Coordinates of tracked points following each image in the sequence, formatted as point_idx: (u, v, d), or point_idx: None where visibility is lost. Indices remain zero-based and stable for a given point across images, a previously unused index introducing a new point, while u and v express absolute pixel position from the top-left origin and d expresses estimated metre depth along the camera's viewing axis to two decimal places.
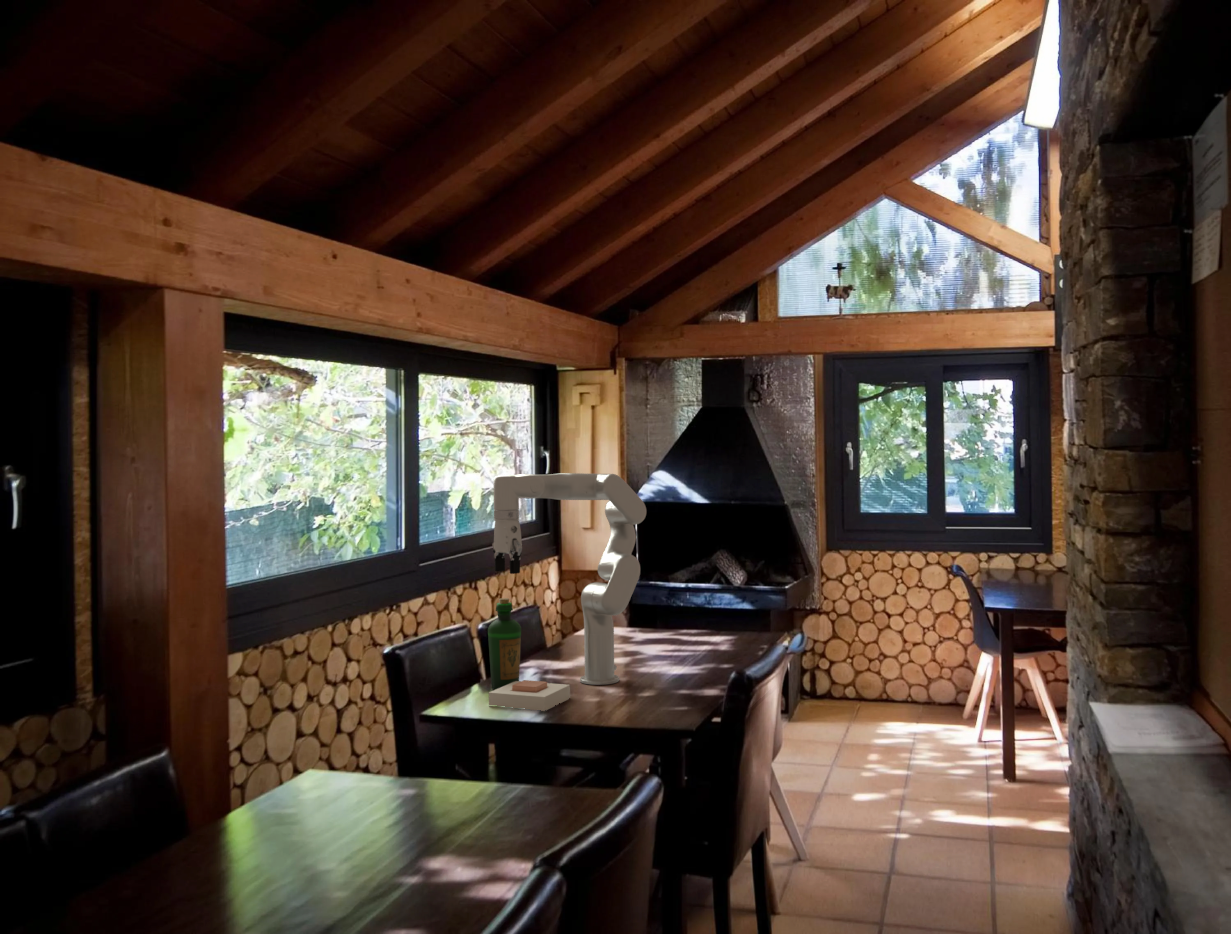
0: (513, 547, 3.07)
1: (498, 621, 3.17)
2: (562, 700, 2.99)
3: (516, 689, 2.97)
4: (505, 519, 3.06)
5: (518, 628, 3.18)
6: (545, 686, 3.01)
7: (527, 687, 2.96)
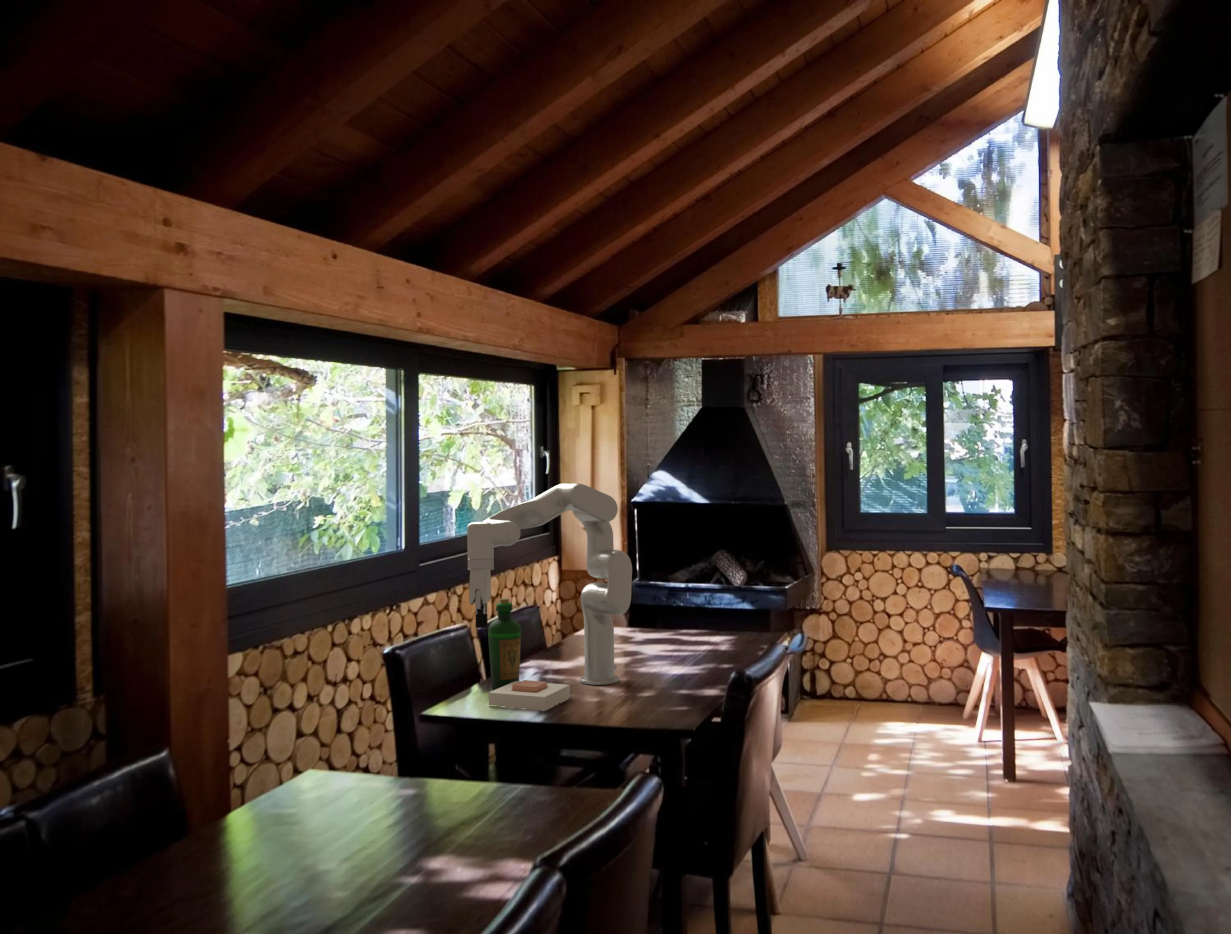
0: None
1: (498, 621, 3.17)
2: (562, 700, 2.99)
3: (516, 689, 2.97)
4: None
5: (518, 628, 3.18)
6: (545, 686, 3.01)
7: (527, 687, 2.96)
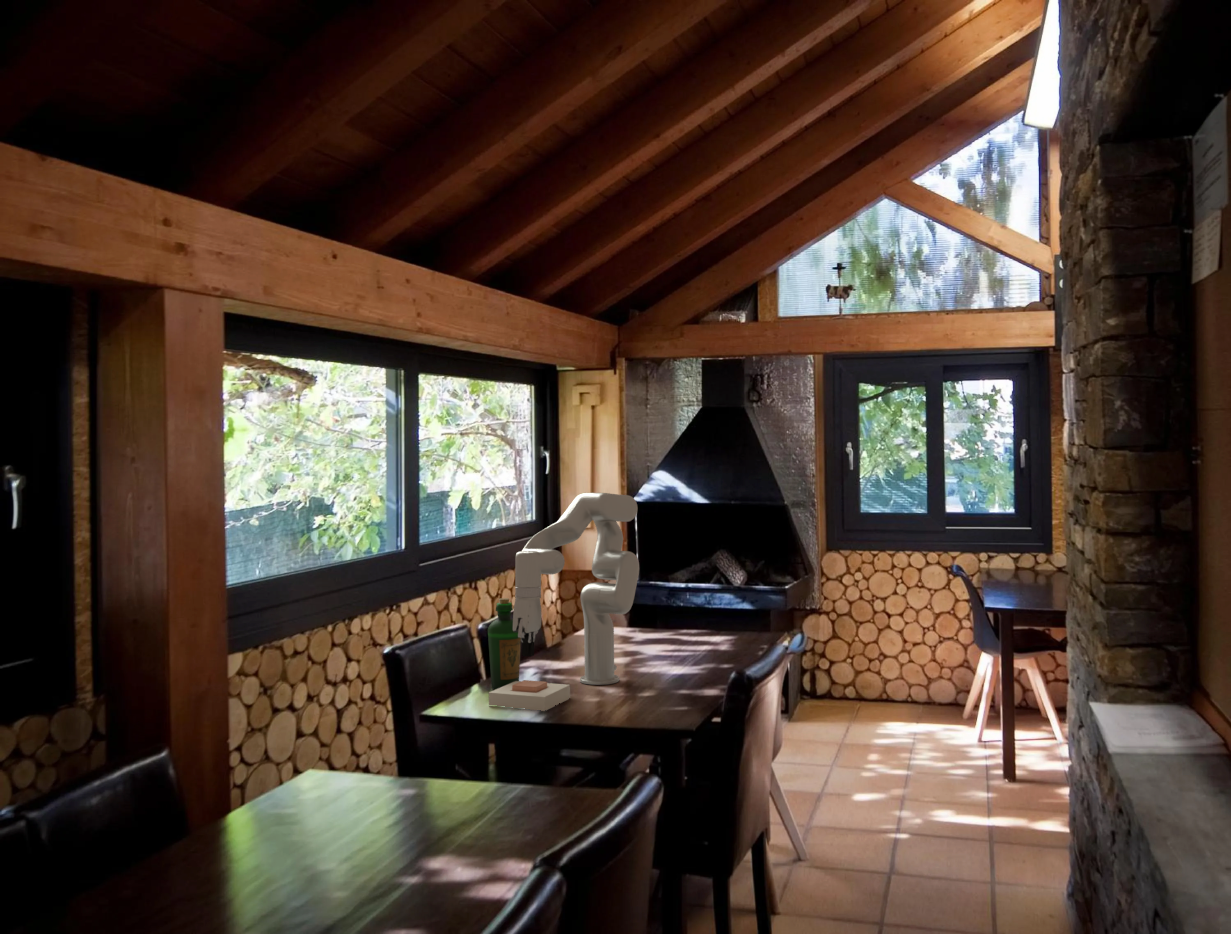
0: None
1: (498, 621, 3.17)
2: (562, 700, 2.99)
3: (516, 689, 2.97)
4: None
5: None
6: (545, 686, 3.01)
7: (527, 687, 2.96)
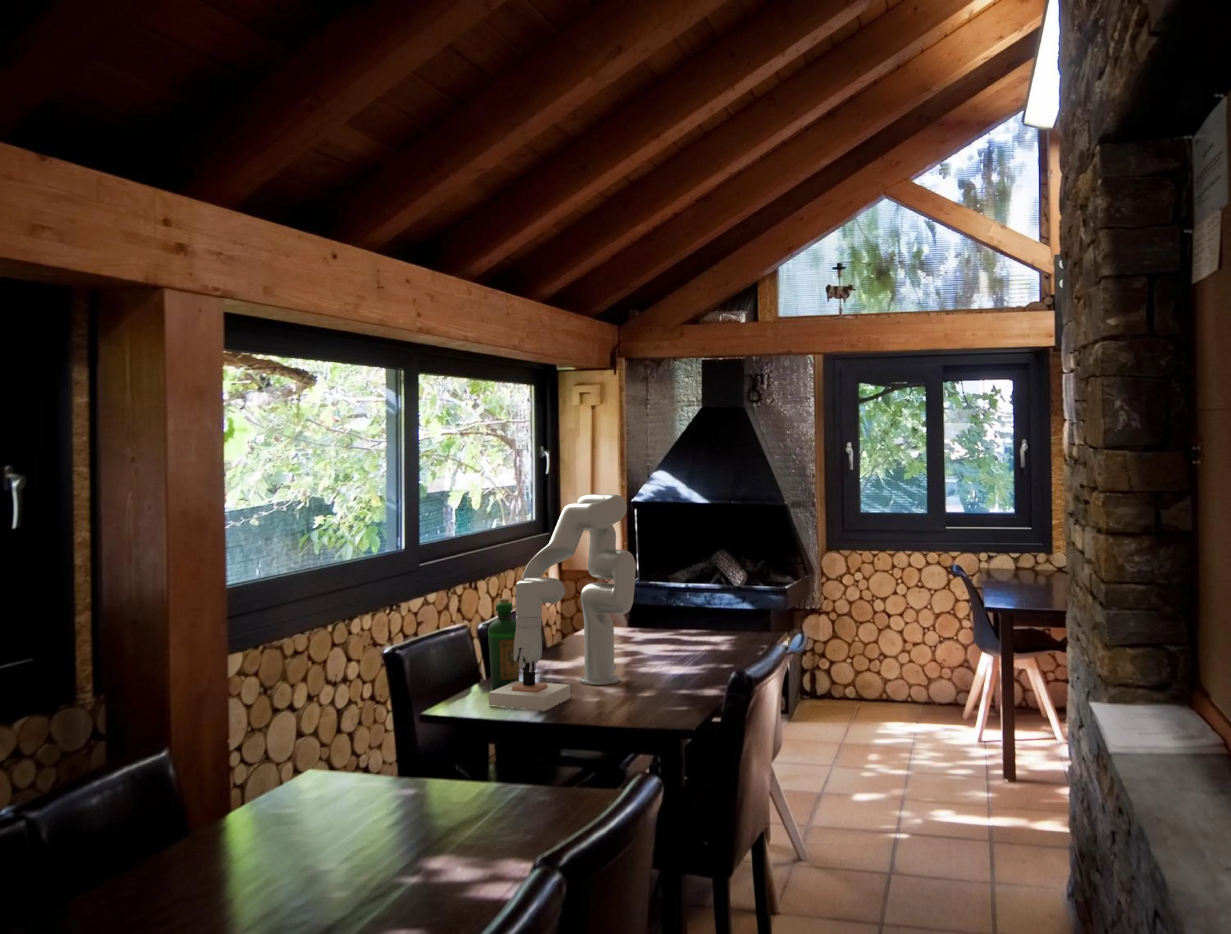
0: None
1: (498, 621, 3.17)
2: (562, 700, 2.99)
3: (516, 690, 2.97)
4: None
5: None
6: (545, 687, 3.01)
7: (527, 688, 2.96)
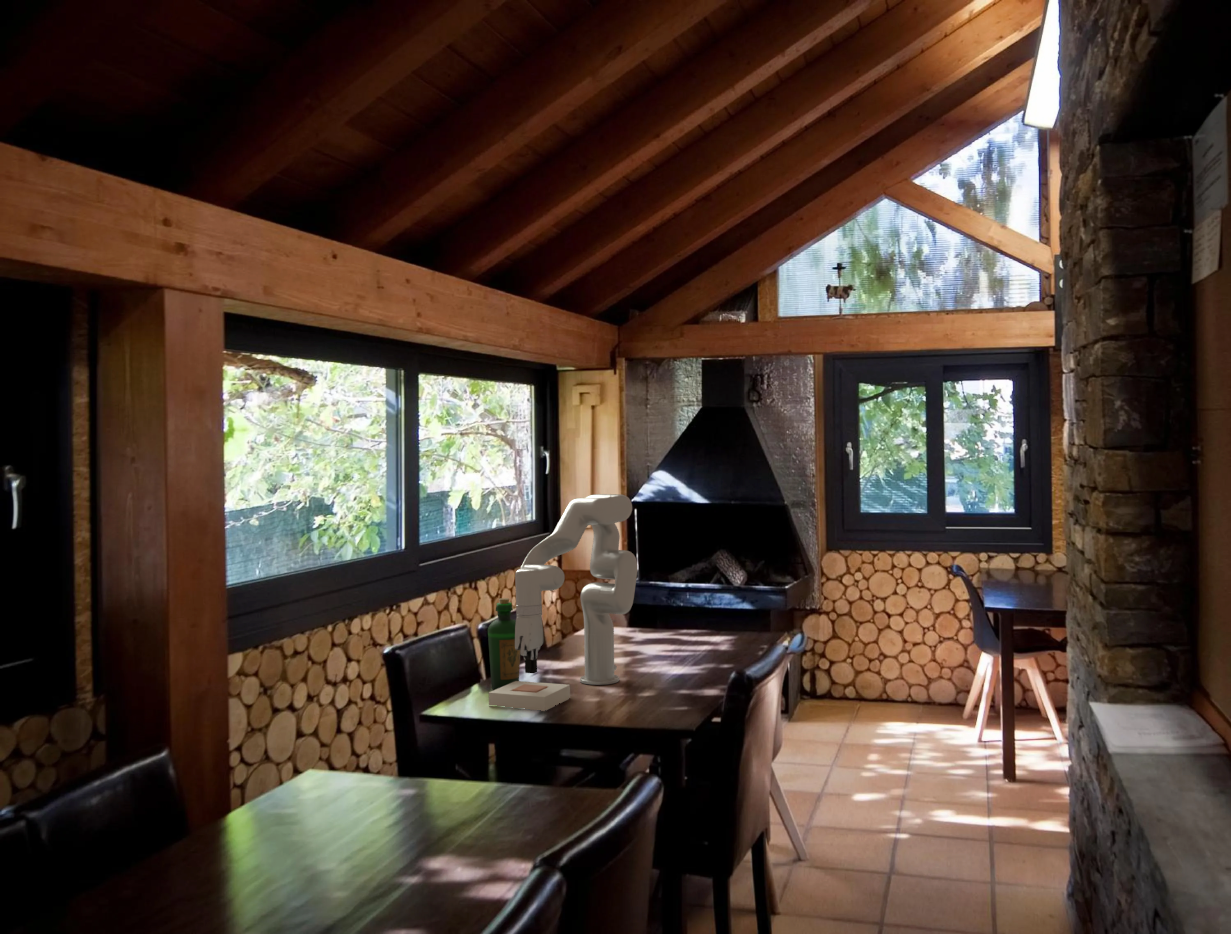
0: None
1: (498, 621, 3.17)
2: (562, 700, 2.99)
3: None
4: None
5: None
6: None
7: (527, 691, 2.96)
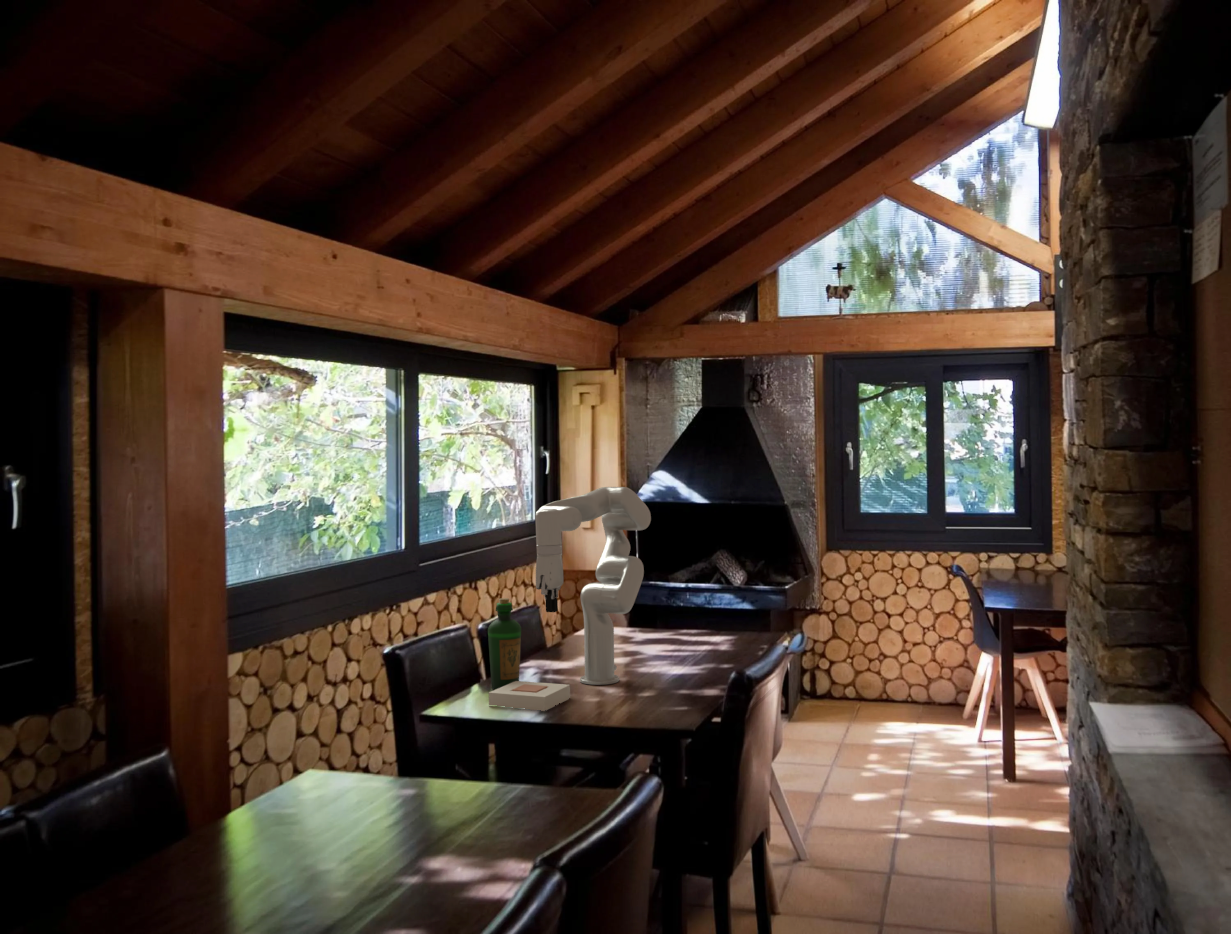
0: None
1: (498, 621, 3.17)
2: (562, 700, 2.99)
3: None
4: None
5: (518, 628, 3.18)
6: None
7: (527, 691, 2.96)
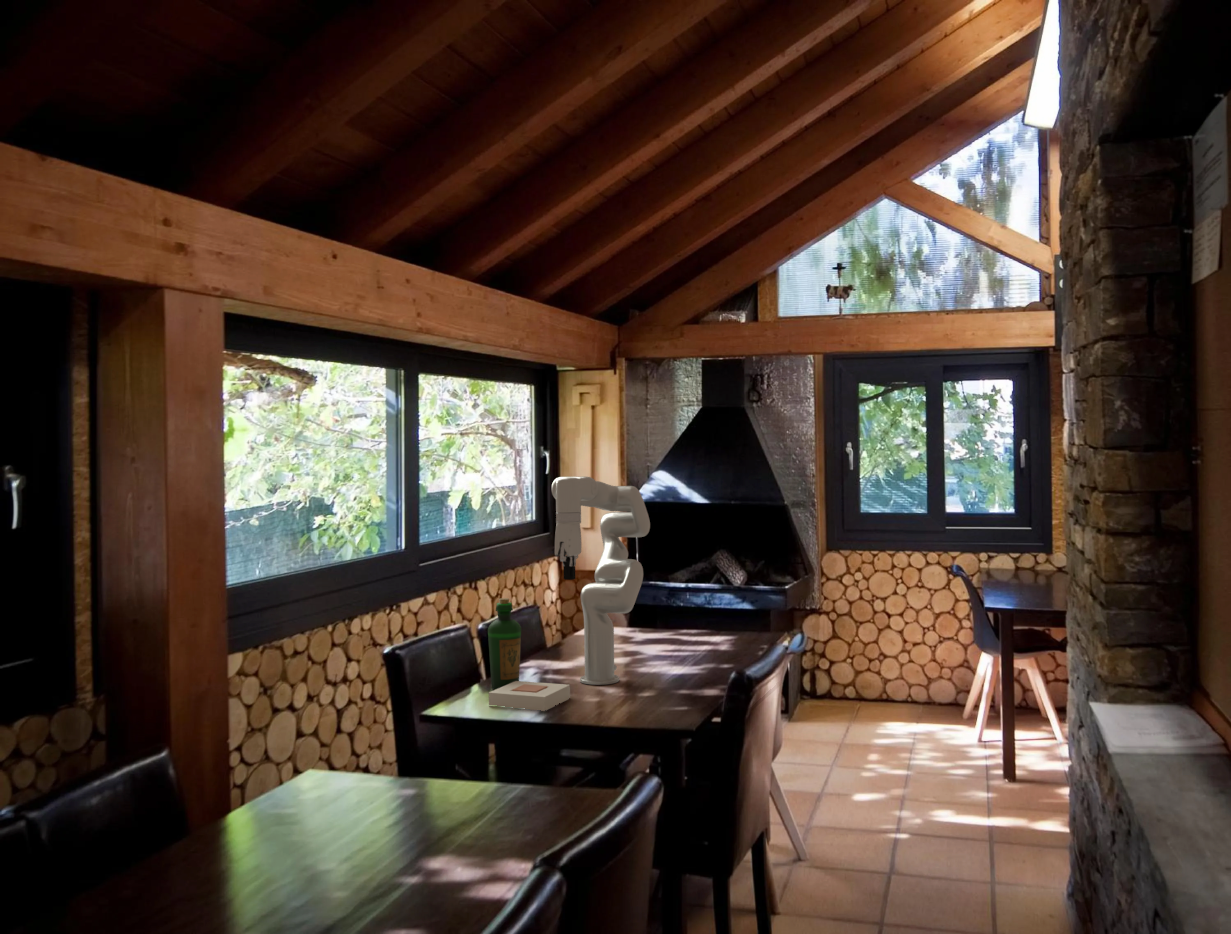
0: None
1: (498, 621, 3.17)
2: (562, 700, 2.99)
3: None
4: None
5: (518, 628, 3.18)
6: None
7: (527, 691, 2.96)
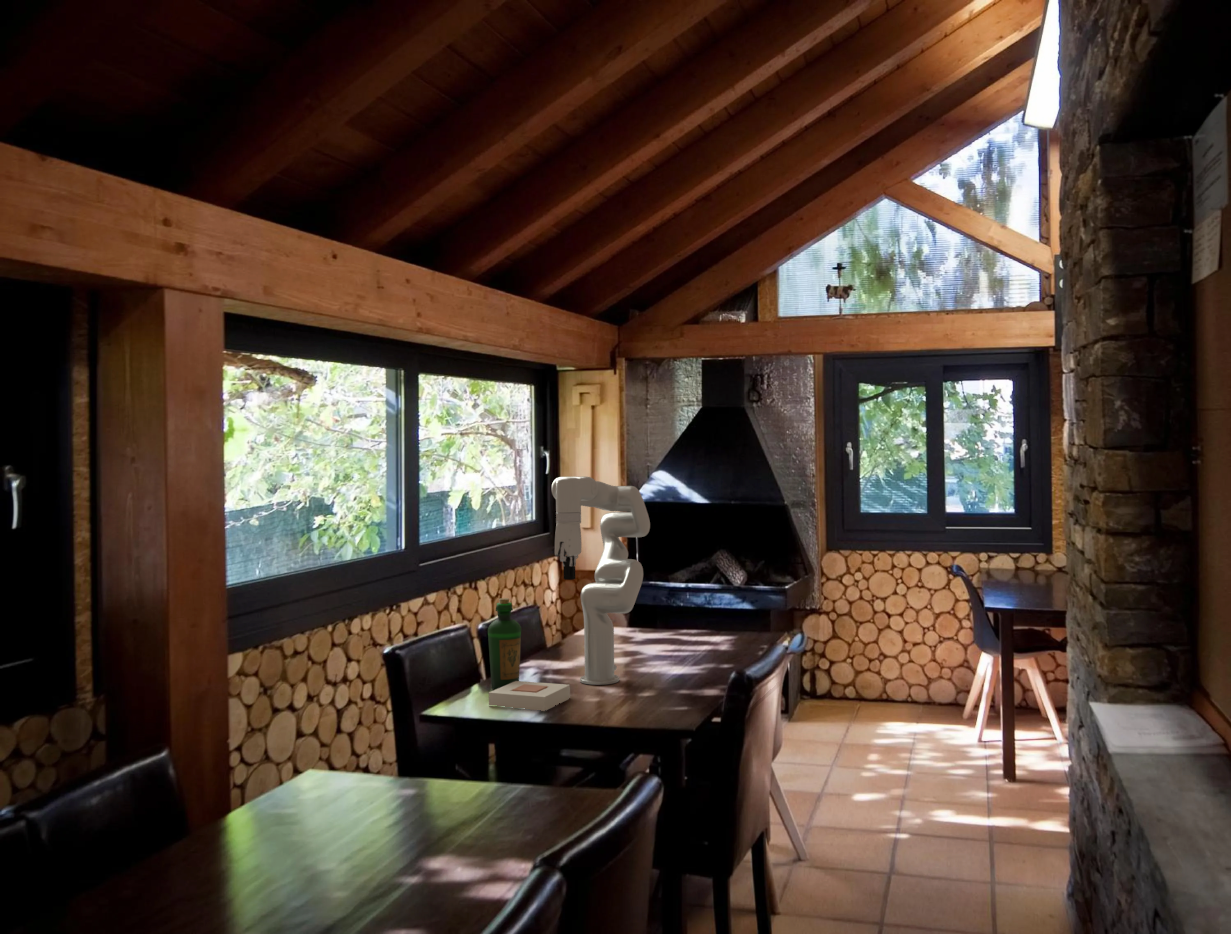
0: None
1: (498, 621, 3.17)
2: (562, 700, 2.99)
3: None
4: None
5: (518, 628, 3.18)
6: None
7: (527, 691, 2.96)
